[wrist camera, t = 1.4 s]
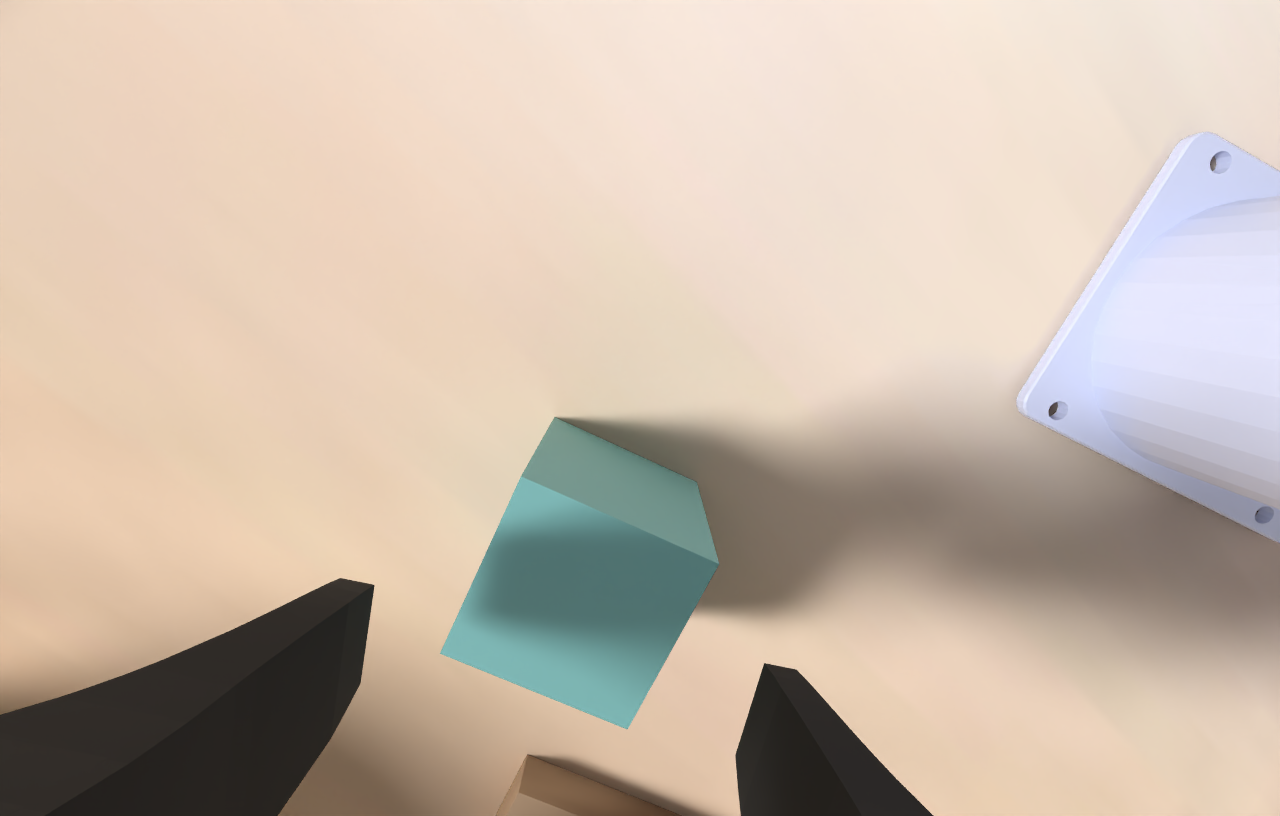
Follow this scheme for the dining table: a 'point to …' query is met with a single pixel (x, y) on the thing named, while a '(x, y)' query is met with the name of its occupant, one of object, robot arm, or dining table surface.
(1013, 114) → the dining table surface
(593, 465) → the teal block
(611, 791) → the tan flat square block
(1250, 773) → the dining table surface
